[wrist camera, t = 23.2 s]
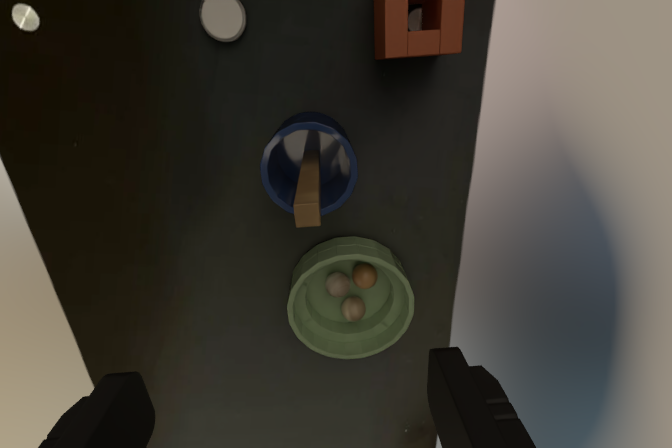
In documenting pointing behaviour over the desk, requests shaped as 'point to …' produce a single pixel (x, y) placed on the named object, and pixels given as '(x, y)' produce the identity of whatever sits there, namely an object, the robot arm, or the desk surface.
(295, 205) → the stick
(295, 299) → the bowl
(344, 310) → the bead
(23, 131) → the desk surface
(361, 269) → the bead
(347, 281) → the bead
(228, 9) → the grey bottle cap
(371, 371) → the desk surface
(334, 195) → the crock
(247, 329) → the desk surface
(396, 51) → the holder
